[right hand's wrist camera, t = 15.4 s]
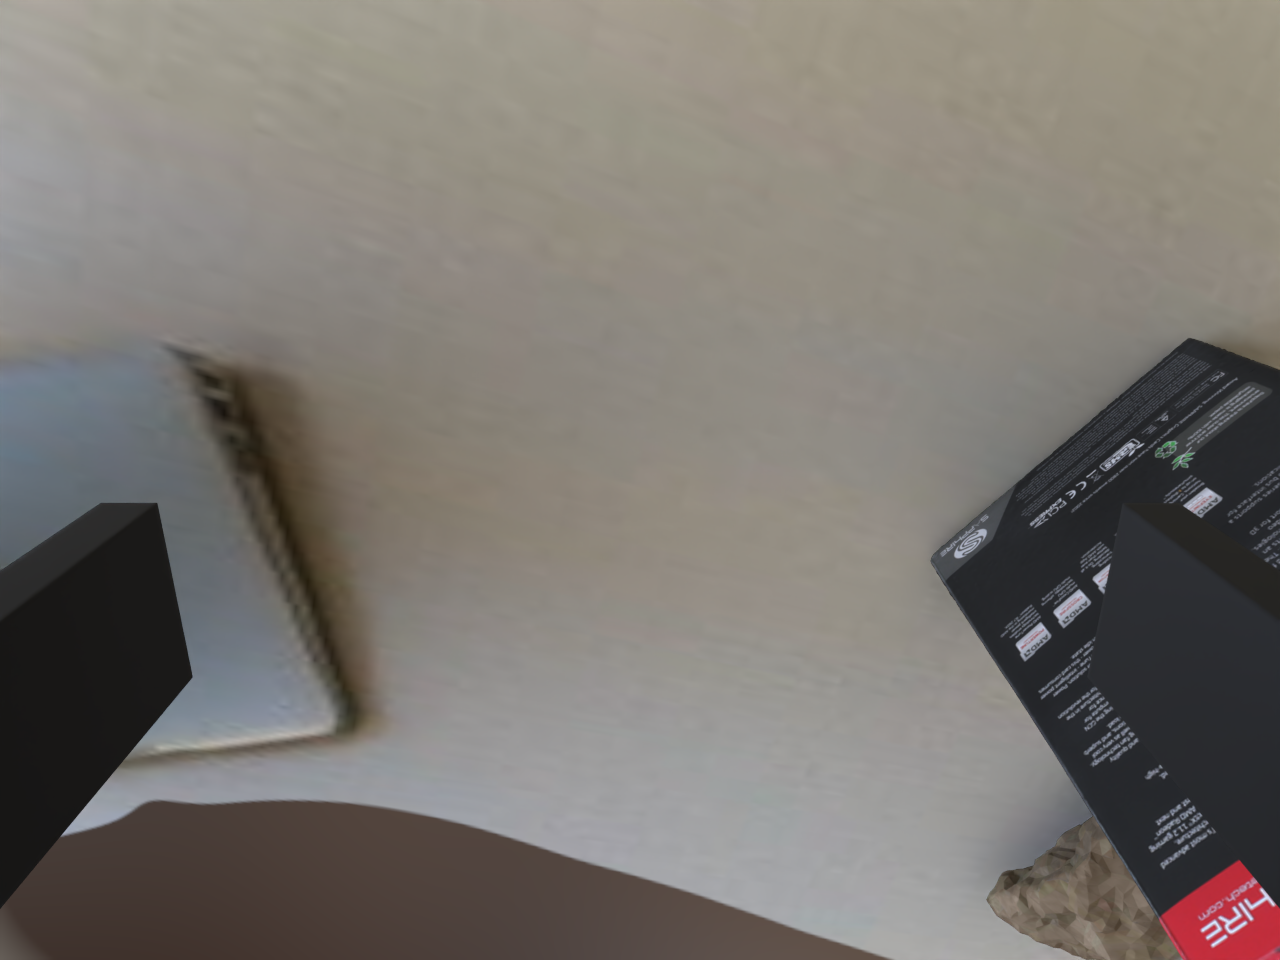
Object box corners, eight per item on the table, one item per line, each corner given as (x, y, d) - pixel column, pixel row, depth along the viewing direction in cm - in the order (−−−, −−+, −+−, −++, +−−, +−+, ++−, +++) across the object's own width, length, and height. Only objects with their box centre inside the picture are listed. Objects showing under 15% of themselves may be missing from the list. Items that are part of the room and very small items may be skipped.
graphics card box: (994, 634, 50) (1363, 1151, 24) (910, 557, 48) (1213, 1026, 23) (1257, 415, 45) (2047, 767, 20) (1176, 322, 44) (1923, 577, 18)
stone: (1173, 1018, 56) (1225, 1093, 50) (969, 883, 56) (997, 941, 50) (1396, 750, 53) (1480, 796, 47) (1180, 610, 53) (1236, 637, 47)
